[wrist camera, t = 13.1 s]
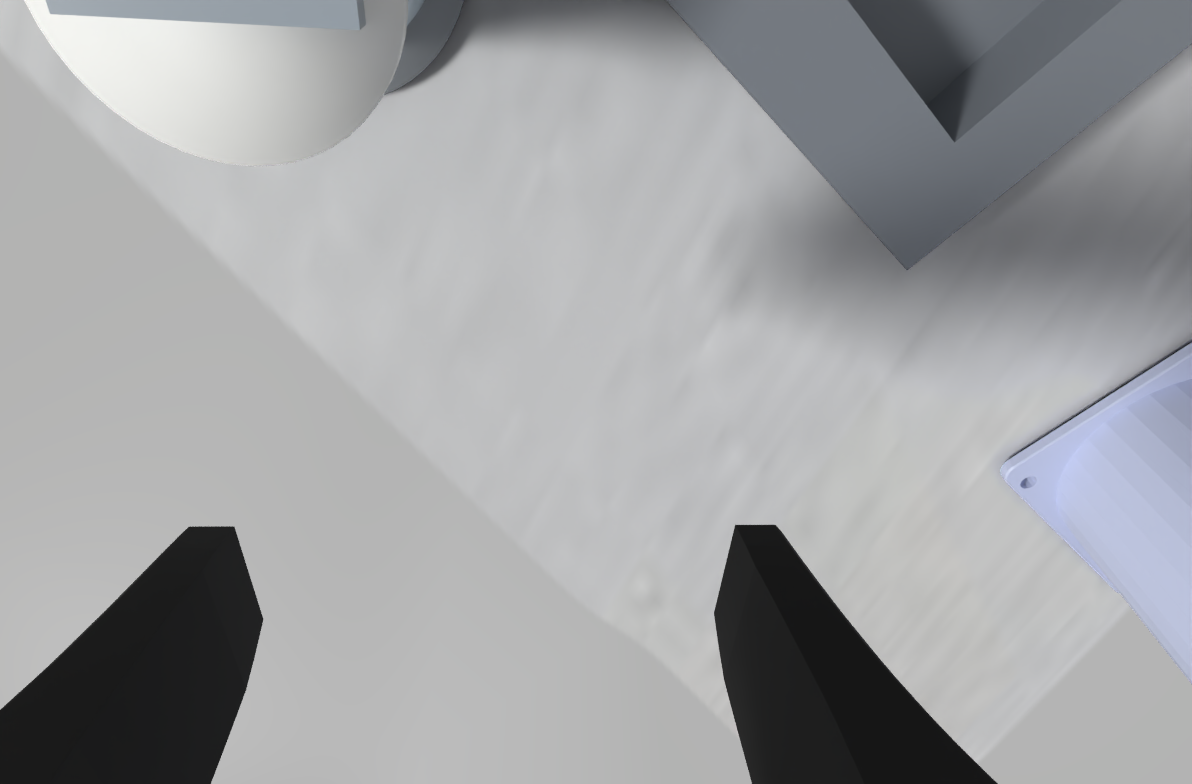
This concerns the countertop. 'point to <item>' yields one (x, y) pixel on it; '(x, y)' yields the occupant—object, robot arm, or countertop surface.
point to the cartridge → (233, 68)
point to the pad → (425, 39)
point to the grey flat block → (935, 91)
